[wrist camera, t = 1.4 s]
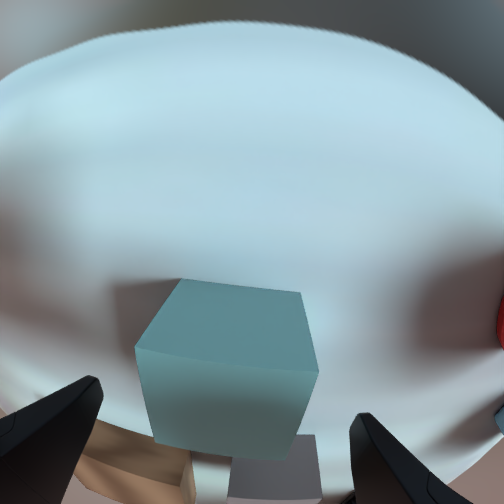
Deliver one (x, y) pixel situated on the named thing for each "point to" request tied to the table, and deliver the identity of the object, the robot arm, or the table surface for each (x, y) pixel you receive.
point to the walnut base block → (135, 468)
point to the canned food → (501, 323)
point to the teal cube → (227, 369)
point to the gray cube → (278, 477)
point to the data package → (500, 419)
